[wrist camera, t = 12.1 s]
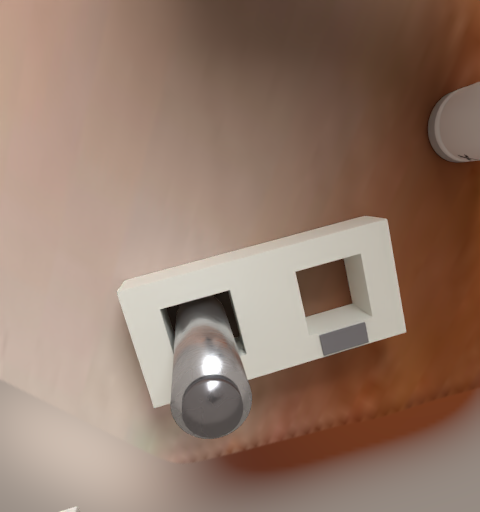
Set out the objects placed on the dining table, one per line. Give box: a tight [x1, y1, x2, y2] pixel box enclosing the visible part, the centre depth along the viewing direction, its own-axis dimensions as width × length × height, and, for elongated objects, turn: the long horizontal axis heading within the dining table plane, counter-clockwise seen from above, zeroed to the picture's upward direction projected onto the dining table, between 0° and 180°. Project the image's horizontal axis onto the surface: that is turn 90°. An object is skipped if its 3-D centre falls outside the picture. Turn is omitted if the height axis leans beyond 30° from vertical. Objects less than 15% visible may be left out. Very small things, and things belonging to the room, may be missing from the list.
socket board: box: [117, 216, 406, 408], centre depth 33 cm, size 10×22×4 cm, turn 104°
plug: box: [170, 295, 252, 439], centre depth 27 cm, size 4×4×15 cm
